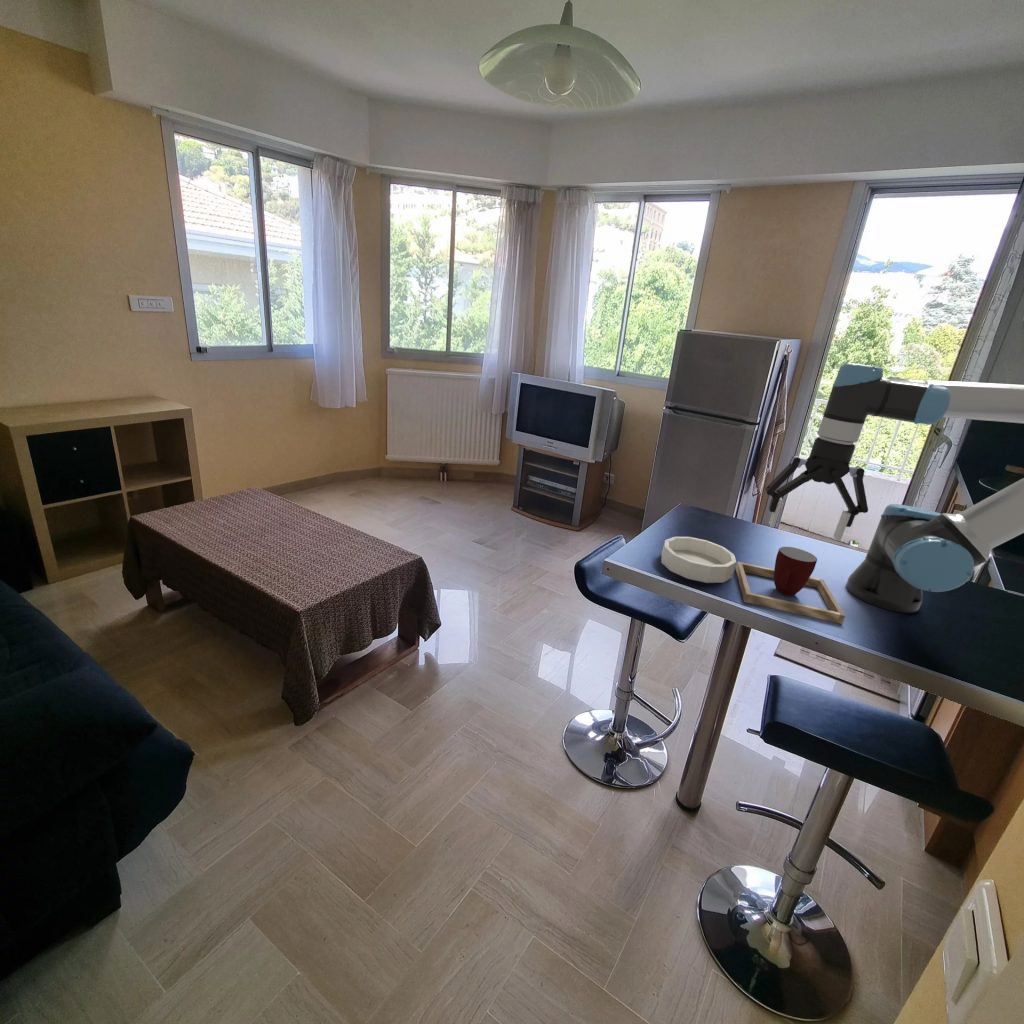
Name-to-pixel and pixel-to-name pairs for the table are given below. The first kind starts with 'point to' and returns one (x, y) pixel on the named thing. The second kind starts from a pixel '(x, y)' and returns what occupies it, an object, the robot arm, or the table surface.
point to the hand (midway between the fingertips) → (803, 532)
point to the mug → (792, 570)
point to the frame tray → (830, 615)
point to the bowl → (698, 559)
